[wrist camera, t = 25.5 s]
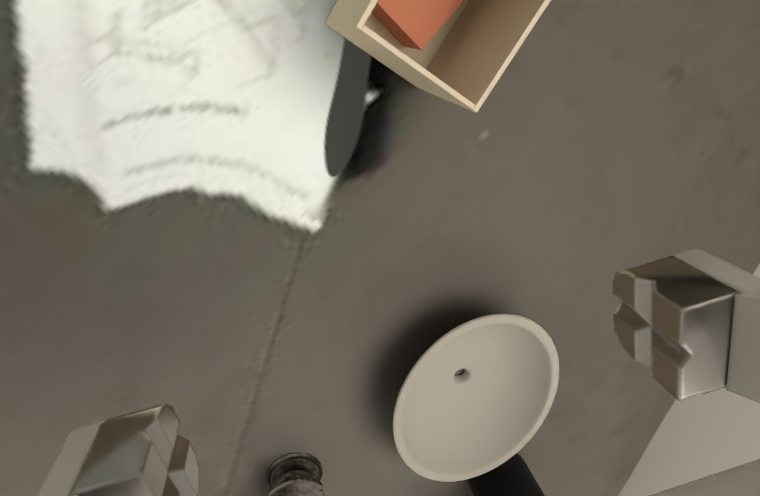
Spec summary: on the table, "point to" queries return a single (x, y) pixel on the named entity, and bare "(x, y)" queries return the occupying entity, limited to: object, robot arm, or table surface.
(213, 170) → the table surface
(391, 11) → the block
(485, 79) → the bin
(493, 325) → the dish
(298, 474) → the salt shaker
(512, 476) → the black bottle
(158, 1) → the table surface
